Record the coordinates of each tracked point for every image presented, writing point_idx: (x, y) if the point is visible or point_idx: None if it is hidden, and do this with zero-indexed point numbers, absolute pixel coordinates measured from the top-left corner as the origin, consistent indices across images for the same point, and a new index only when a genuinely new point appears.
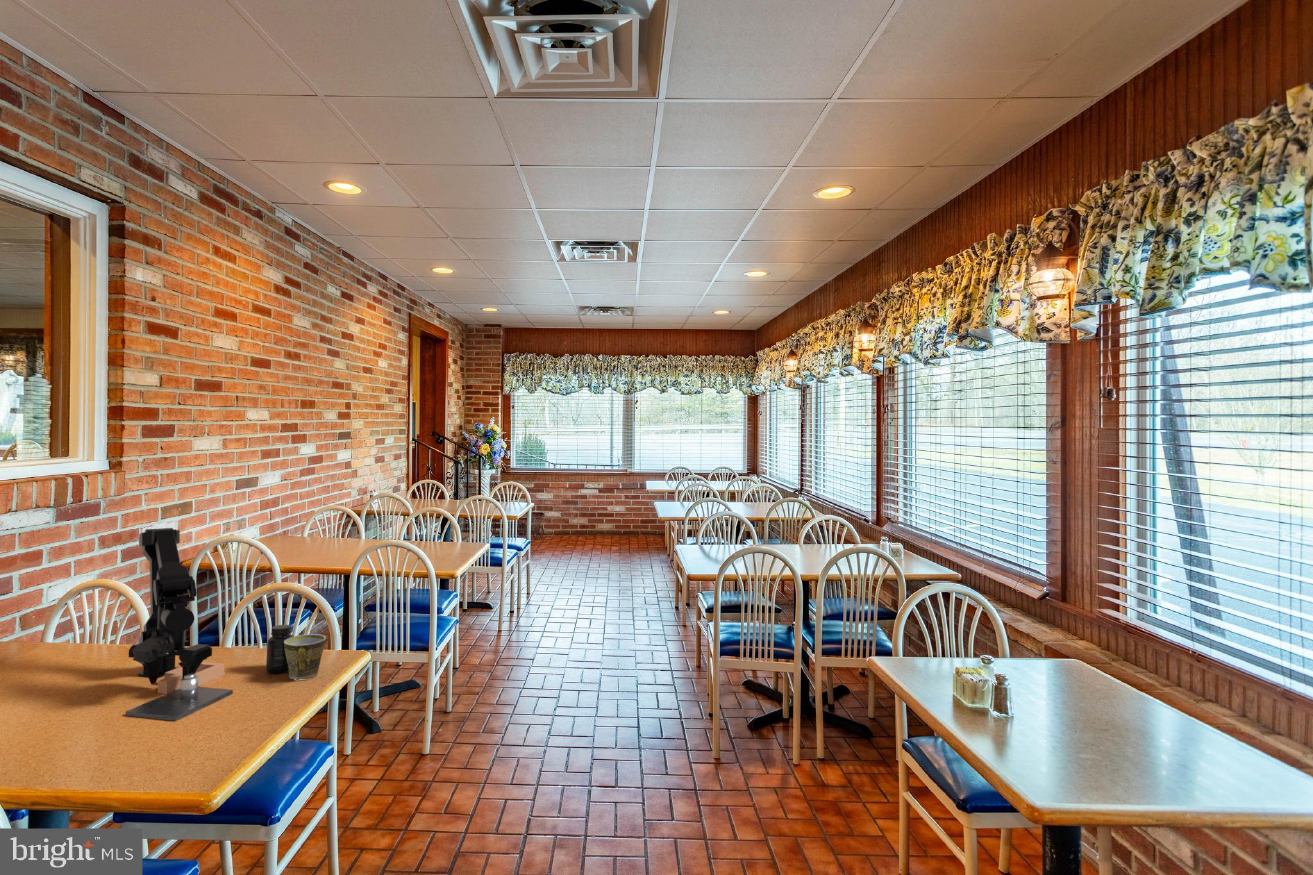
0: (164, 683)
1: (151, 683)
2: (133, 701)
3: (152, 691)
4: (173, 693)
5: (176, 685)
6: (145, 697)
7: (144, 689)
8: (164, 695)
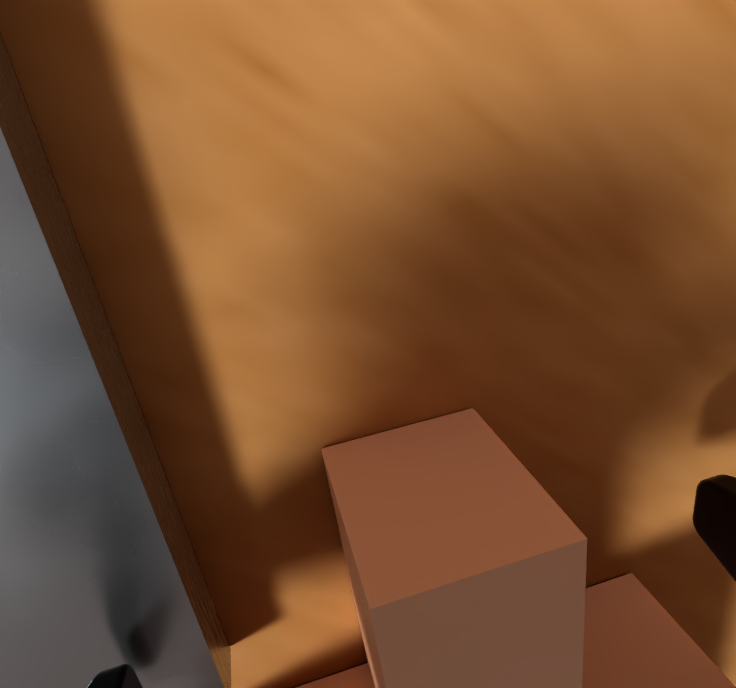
0: (415, 555)
1: (719, 481)
2: (514, 8)
3: (587, 406)
4: (15, 466)
5: (363, 630)
6: (485, 226)
7: (729, 396)
8: (46, 325)
